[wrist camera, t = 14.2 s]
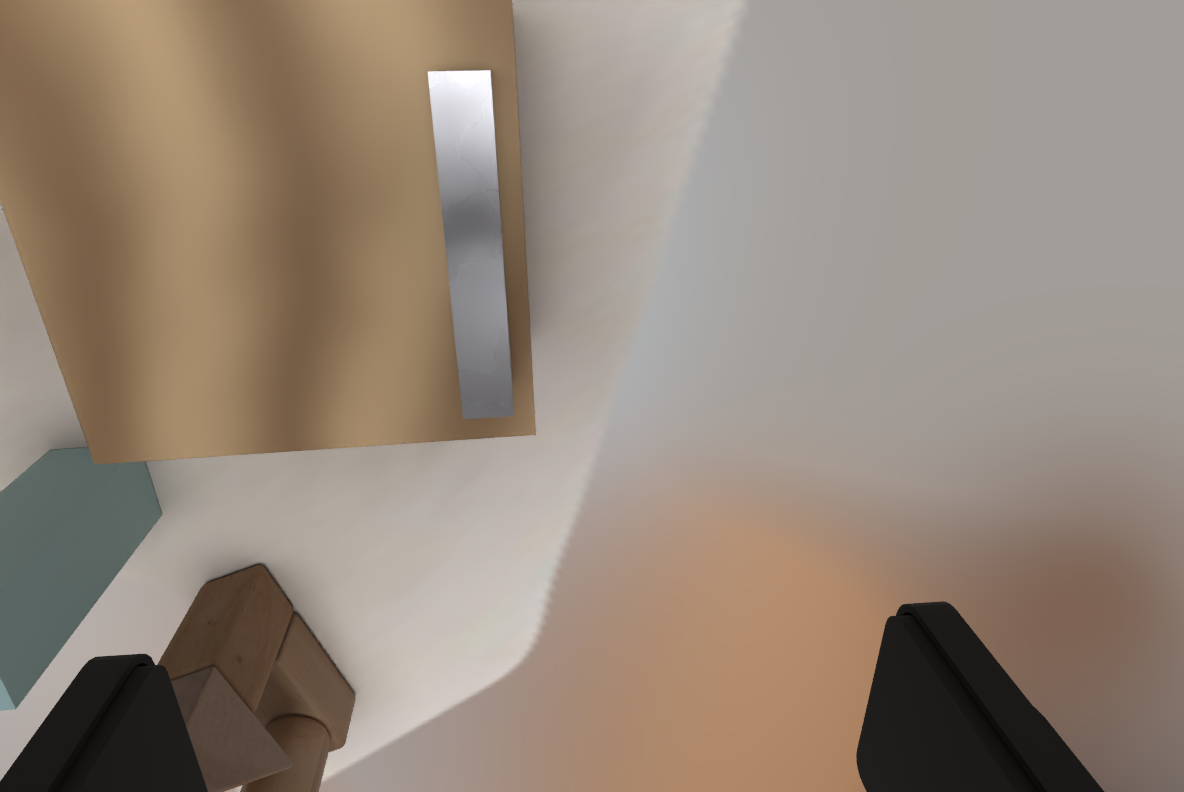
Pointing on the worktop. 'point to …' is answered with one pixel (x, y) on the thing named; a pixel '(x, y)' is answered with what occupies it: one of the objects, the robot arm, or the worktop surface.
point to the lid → (271, 219)
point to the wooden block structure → (256, 688)
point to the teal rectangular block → (62, 553)
